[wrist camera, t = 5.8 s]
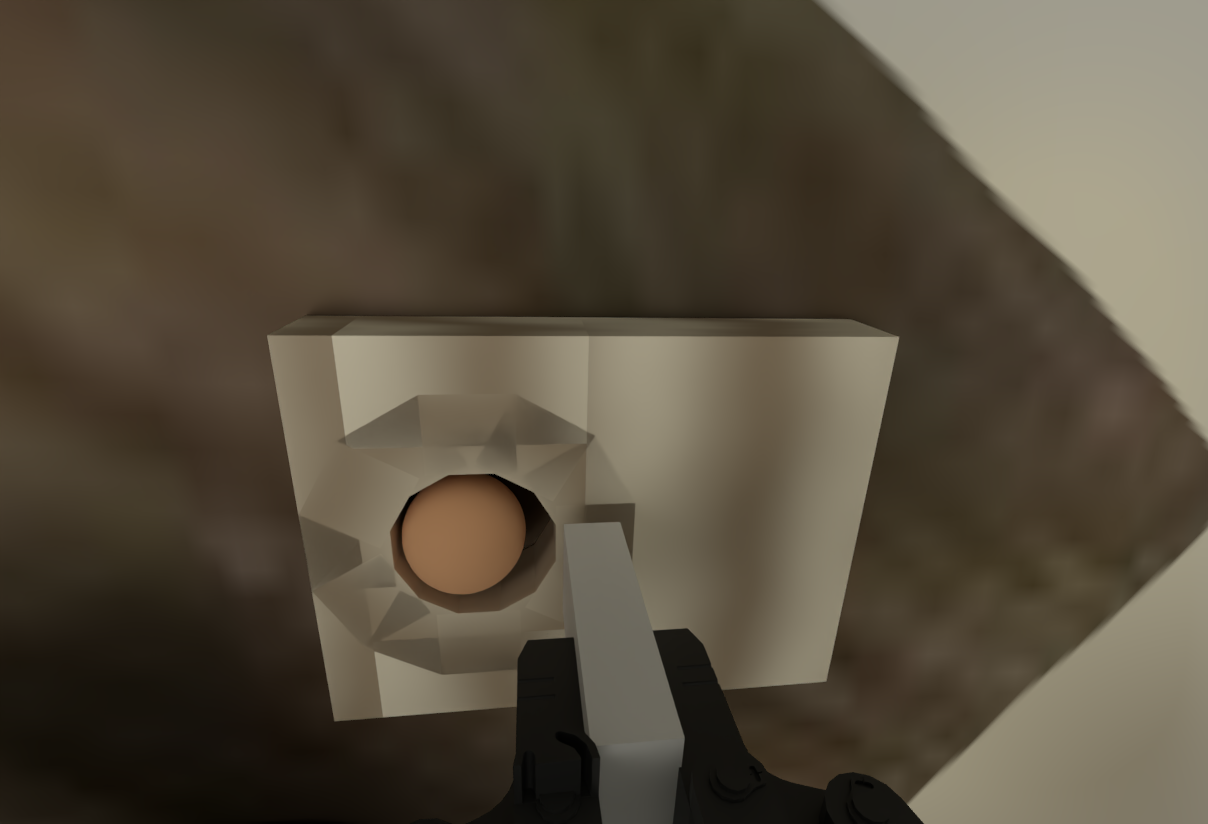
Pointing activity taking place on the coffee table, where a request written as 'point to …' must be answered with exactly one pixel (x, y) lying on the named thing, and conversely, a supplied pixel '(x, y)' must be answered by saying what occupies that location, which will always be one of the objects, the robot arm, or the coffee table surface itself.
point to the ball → (463, 533)
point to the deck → (579, 485)
